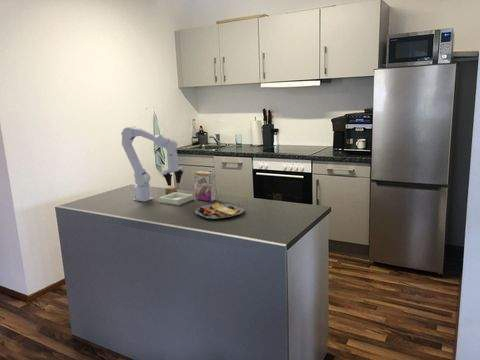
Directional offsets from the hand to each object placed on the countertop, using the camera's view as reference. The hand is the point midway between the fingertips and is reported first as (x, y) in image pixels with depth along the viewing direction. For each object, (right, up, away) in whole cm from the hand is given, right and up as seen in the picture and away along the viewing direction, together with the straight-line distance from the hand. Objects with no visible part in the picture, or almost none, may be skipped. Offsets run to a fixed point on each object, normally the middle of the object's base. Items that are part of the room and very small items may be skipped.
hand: (173, 184), depth 234 cm
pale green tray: (+2, -10, -2) cm, 10 cm away
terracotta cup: (+15, -7, +9) cm, 19 cm away
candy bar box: (+19, -9, -1) cm, 21 cm away
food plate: (+28, -15, -29) cm, 43 cm away
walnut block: (-4, -7, +12) cm, 15 cm away
